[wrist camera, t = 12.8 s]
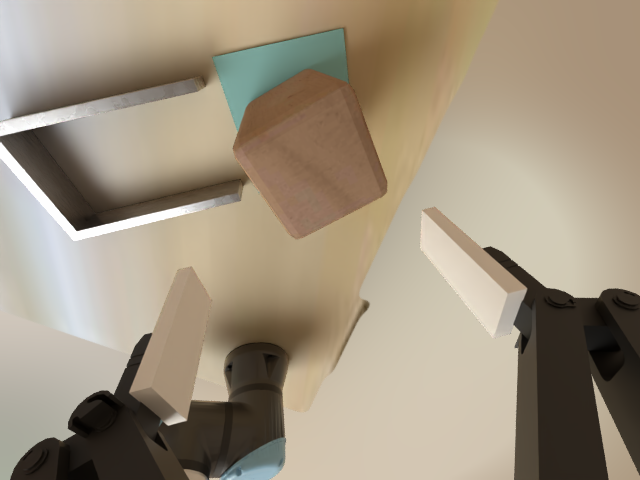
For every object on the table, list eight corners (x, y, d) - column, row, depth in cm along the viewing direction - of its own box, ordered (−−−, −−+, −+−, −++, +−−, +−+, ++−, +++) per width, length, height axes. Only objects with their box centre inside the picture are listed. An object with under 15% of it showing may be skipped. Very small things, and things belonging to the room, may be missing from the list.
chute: (243, 186, 42) (240, 200, 38) (92, 222, 41) (73, 240, 37) (201, 75, 34) (193, 79, 29) (10, 118, 33) (-26, 128, 29)
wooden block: (310, 64, 34) (352, 76, 18) (341, 137, 40) (394, 195, 24) (242, 105, 36) (225, 150, 19) (282, 170, 41) (294, 246, 25)
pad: (357, 168, 44) (357, 169, 43) (258, 192, 43) (258, 193, 43) (342, 28, 33) (343, 28, 33) (212, 57, 33) (212, 57, 32)
